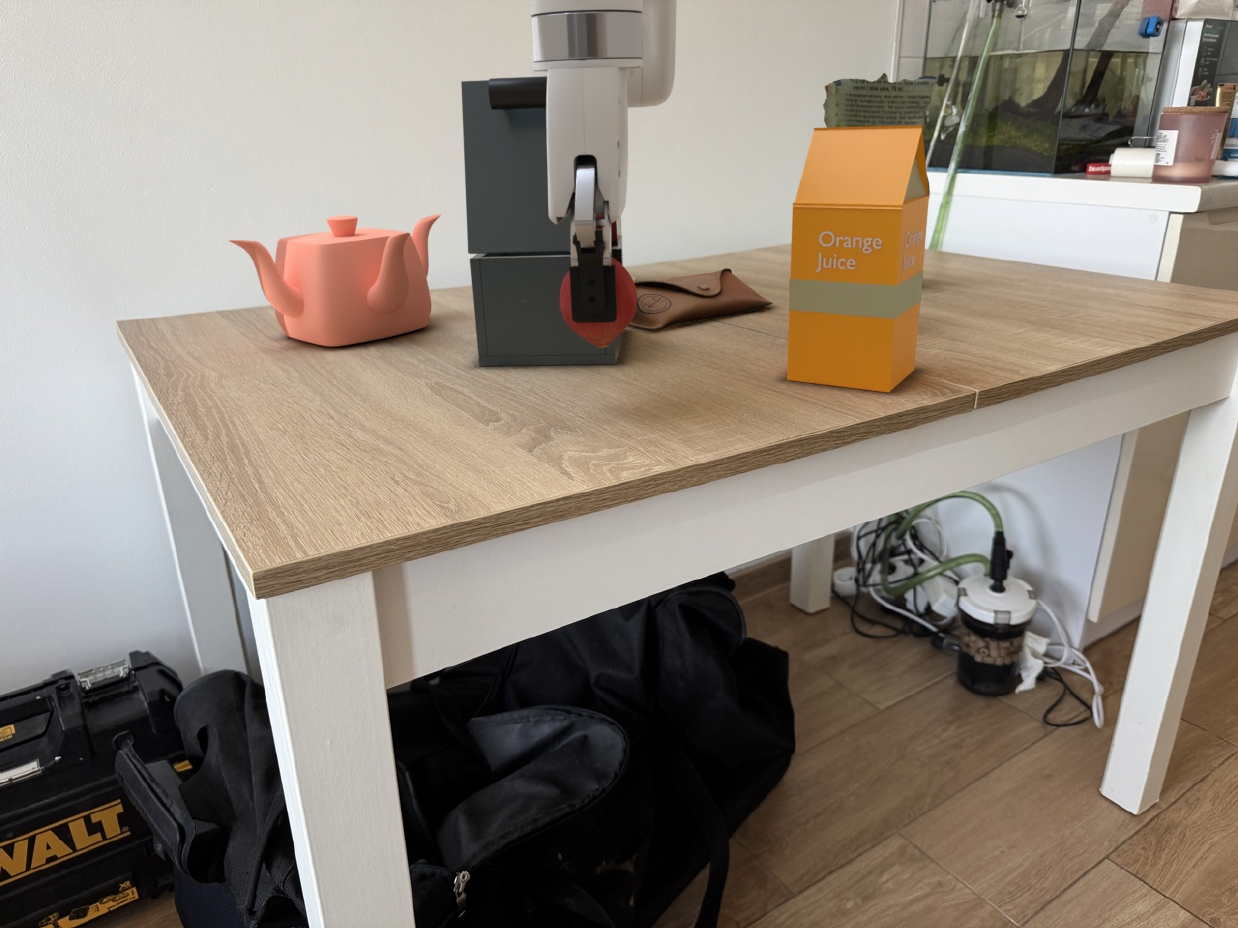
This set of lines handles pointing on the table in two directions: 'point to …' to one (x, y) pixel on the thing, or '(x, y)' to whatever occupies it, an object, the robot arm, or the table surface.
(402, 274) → the pot
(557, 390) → the table surface
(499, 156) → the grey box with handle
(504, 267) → the dark box
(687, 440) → the table surface
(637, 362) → the table surface
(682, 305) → the sunglasses case
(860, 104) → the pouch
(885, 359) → the orange juice
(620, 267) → the onion
